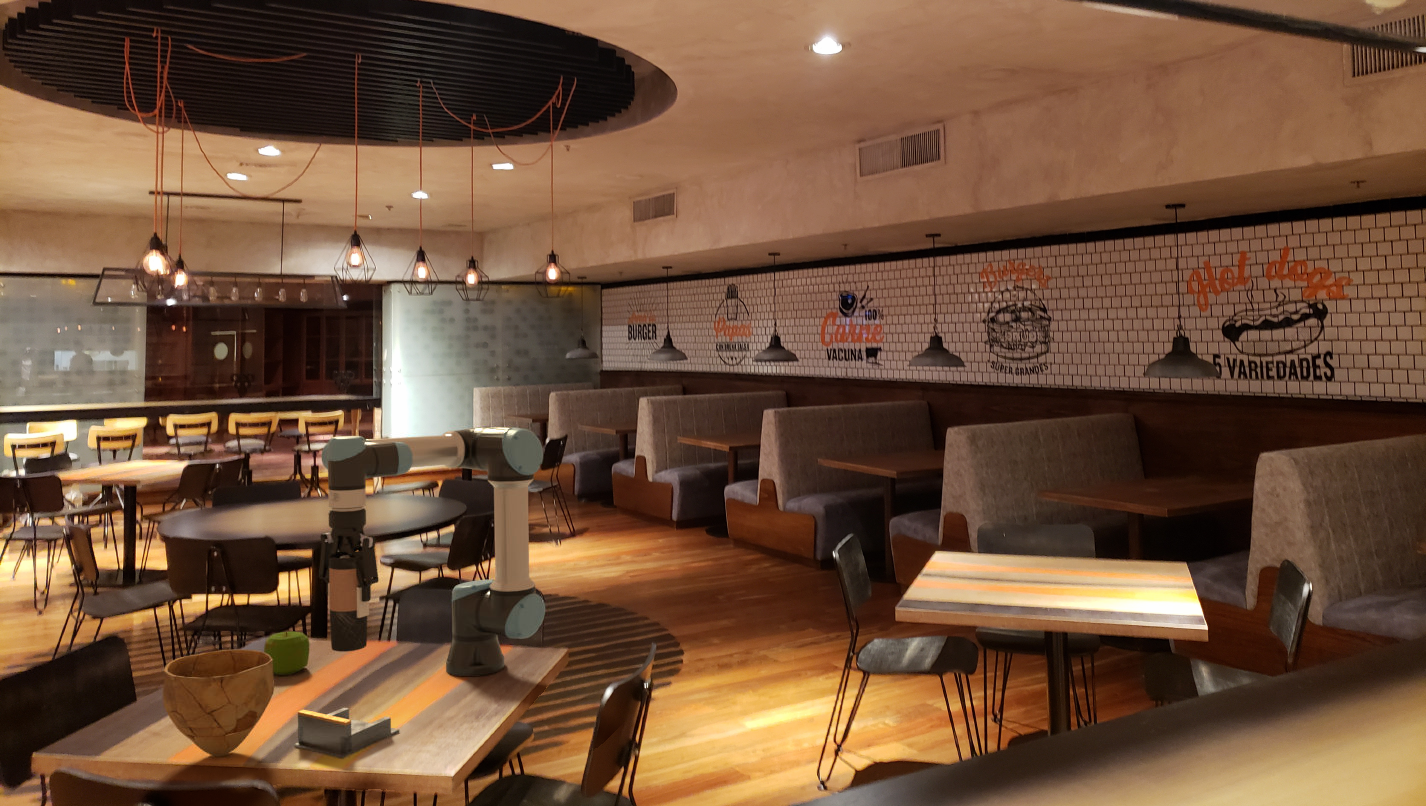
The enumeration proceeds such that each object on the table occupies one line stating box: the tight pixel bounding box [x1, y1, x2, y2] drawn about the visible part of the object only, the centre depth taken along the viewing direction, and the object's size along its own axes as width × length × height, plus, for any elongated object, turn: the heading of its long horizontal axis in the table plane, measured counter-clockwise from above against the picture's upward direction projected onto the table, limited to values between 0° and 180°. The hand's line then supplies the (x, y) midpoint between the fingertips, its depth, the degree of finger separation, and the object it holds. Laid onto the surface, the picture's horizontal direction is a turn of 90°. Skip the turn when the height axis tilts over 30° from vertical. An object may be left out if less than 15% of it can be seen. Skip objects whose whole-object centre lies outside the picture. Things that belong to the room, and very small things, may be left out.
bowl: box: [162, 648, 275, 758], centre depth 202 cm, size 21×20×20 cm
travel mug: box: [329, 553, 368, 653], centre depth 210 cm, size 8×8×20 cm
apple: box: [263, 630, 311, 676], centre depth 258 cm, size 11×11×11 cm
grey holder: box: [294, 707, 400, 760], centre depth 211 cm, size 16×14×7 cm
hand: (348, 613), depth 210 cm, fingers closed on travel mug, 8 cm apart
